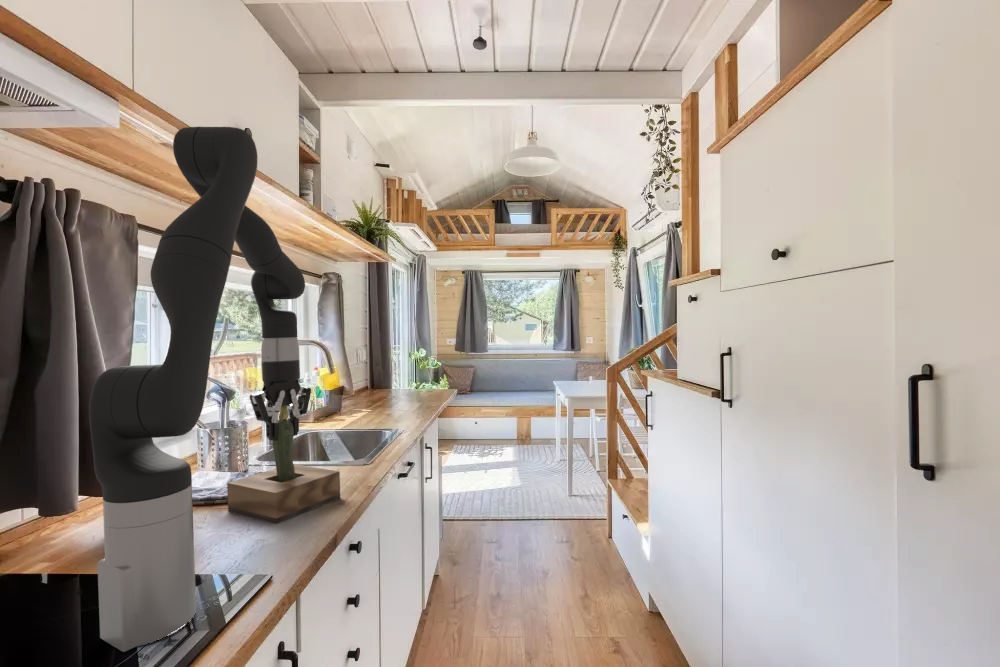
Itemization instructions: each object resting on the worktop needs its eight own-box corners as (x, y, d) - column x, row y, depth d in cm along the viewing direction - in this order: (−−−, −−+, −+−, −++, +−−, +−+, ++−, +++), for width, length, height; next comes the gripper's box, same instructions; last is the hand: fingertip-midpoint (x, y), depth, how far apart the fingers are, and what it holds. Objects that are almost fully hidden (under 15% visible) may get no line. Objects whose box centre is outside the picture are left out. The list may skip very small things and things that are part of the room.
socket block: (276, 523, 96) (275, 493, 96) (228, 511, 104) (227, 482, 103) (340, 498, 109) (339, 471, 109) (293, 488, 117) (292, 463, 117)
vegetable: (290, 496, 104) (287, 403, 104) (270, 497, 104) (266, 403, 104) (299, 490, 109) (296, 400, 108) (280, 490, 109) (276, 400, 109)
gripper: (261, 361, 98) (264, 446, 98) (319, 357, 111) (321, 432, 111) (238, 361, 102) (241, 443, 102) (297, 357, 114) (299, 430, 114)
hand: (283, 437), depth 106 cm, fingers closed on vegetable, 4 cm apart
